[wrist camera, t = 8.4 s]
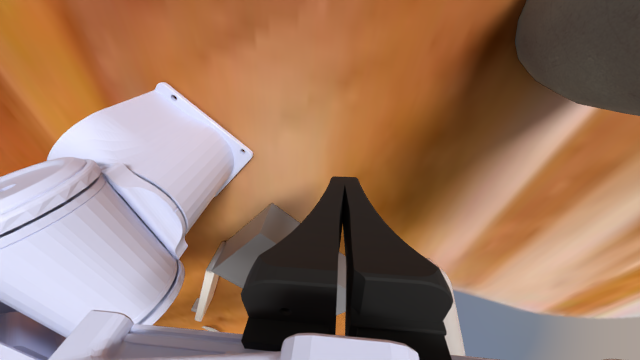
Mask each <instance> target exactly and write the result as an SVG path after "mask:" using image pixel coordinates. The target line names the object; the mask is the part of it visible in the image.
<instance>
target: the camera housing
mask: <svg viewBox="0 0 640 360" xmlns="http://www.w3.org/2000/svg"><path fill="white" fill-rule="evenodd" d="M298 225H300V223H299V222H298V221H296V220H295V219H293V218H292V217H291V216H289V215H288V214H287V213H285V212H284V211H283V210H281V209H280V208H278V207H277V206H276V205H274V204H273V203H271V204H270V205H269V206H268V207H267V208H265V209H264V210H263V211H262V212H261V213H260V214H258V215H257V216H256V217H255V218H254V219H253V220H251V221H250V222H249V223H248V224H247V225H245V226H244V227H243V228H242V229H241V230H240V231H238V232H237V233H236V234H235V235H234V236H233V237H231V238H230V239H229V240H228V241H227V242H226V244H225V246H224V248H223V250H222V252H221V254H220V256H219V257H218V259H217V261H216V263H215V265H214V267H213V269H212V270H211V272H213V273H215V274H217V275H219V276H221V277H222V278H224V279H226V280H228V281H230V282H232V283H234V284H235V285H237V286H239V287H241V288H243V287H244V284H245V281H246V279H247V276H248V274H249V271H250V270H251V268H252V266H253V264H254V262H255V261H256V259H257V257H258V256H259V255H260V254H262V253H263V252H265V251H267V250H268V249H270V248H271V247H273V246H274V245H276V244H277V243H278V242H280V241H281V240H282V239H283V238H285V237H286V236H287V235H288V234H290V233H291V232H292V231H293V230H294V229H295V228H296V227H297V226H298ZM343 312H346V256H344V255H343V254H341V253H340V252H339V255H338V283H337V306H336V315H338V314H341V313H343Z"/></svg>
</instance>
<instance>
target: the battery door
mask: <svg viewBox="0 0 640 360" xmlns="http://www.w3.org/2000/svg"><path fill="white" fill-rule="evenodd" d="M225 244H226V242H224V241H223V242H221V244H220V246H219V248H218V249H217V251H216V253H215V255H214V257H213V258H212V260H211V262H210V264H209V265H208V267H207V269H206V273H205V277H204V282H203V286H202V290H201V295H200V298H197V299H196V301H195V303H194V305H193V307H192V310H191V311H194V312H196V316H195V320H197V321H200V322H201V321H202V319H203V317H204V314H205V312H206V310H207V308H208V306H209V304H210V302H211V300H212V298H213V295H214V292H215V289H216V285H217V282H218V279H219V275H217V274H215V273H213V272H211V270H212V269H213V267H214V265H215V263H216V261H217V259H218V257H219V256H220V254H221V252H222V250H223V248H224V246H225Z"/></svg>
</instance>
